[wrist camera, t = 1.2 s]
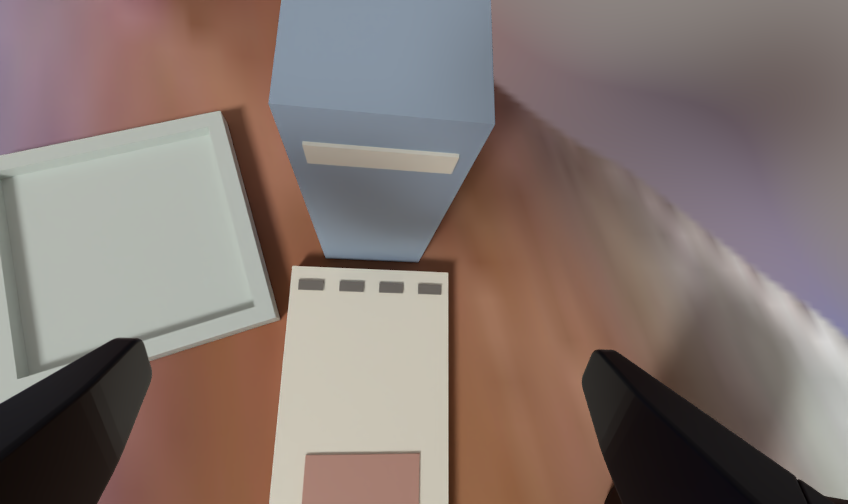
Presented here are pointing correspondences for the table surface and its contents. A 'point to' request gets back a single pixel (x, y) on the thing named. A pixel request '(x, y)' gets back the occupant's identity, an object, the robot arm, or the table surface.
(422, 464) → the board
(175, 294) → the tray
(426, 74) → the blue tall block
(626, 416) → the robot arm
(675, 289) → the table surface
